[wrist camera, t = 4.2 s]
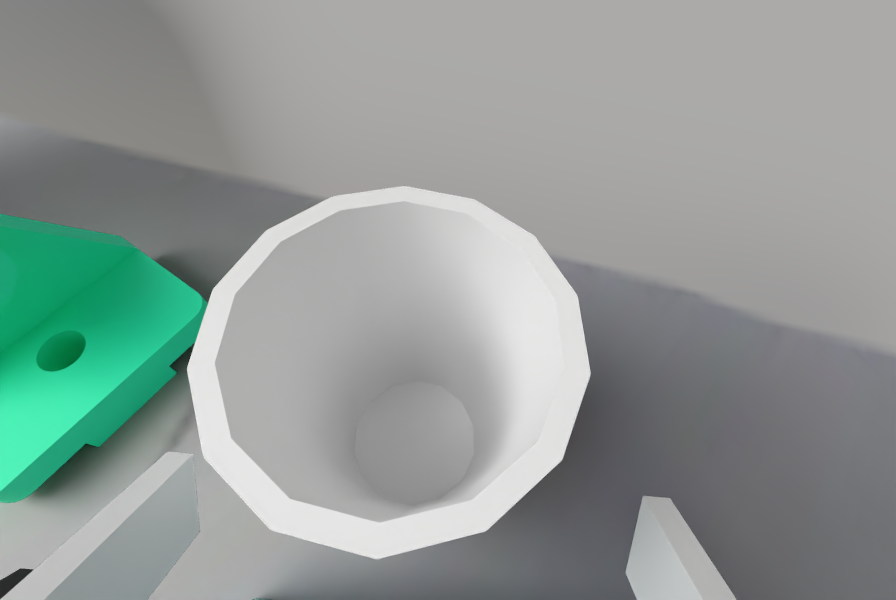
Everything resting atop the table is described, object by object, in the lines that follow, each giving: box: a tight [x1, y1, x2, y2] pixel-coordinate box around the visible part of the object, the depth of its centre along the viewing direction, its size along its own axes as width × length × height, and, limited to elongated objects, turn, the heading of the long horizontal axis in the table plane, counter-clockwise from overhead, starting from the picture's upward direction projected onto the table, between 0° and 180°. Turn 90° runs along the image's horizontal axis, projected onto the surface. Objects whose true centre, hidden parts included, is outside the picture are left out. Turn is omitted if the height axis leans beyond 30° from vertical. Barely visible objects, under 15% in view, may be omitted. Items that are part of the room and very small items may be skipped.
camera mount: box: [0, 214, 208, 503], centre depth 19 cm, size 12×8×10 cm, turn 146°
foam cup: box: [187, 186, 591, 559], centre depth 16 cm, size 10×9×13 cm
